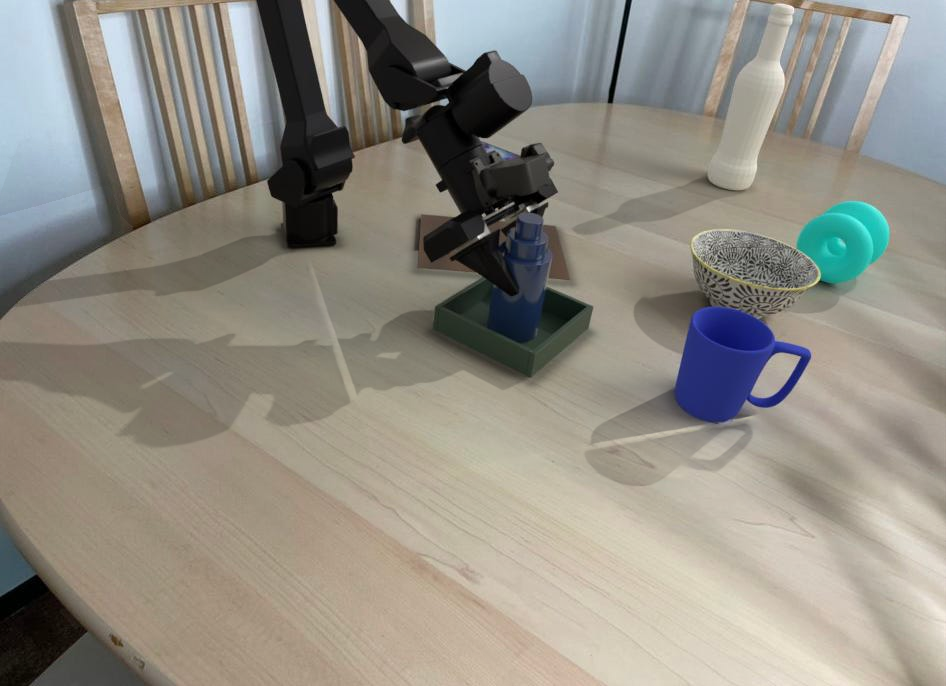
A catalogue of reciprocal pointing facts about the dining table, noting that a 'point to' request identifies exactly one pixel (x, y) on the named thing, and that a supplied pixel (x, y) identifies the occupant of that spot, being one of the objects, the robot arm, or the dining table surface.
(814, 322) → the dining table surface
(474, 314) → the tray
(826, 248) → the turquoise yo-yo
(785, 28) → the bottle
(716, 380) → the mug
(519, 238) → the blue bottle
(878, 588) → the dining table surface
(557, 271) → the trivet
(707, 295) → the bowl
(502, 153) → the smartphone
